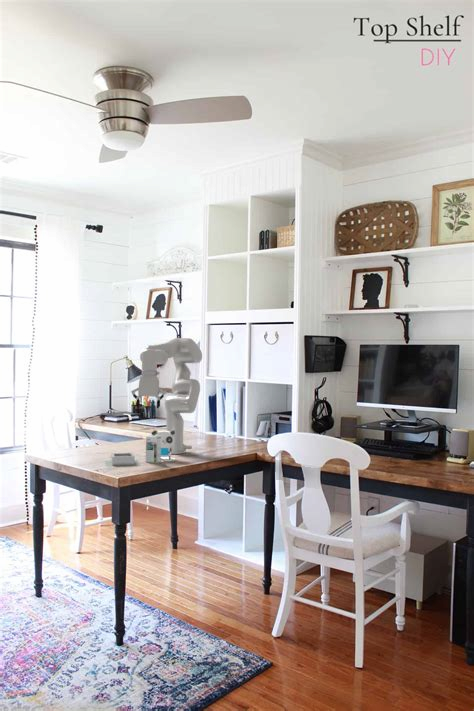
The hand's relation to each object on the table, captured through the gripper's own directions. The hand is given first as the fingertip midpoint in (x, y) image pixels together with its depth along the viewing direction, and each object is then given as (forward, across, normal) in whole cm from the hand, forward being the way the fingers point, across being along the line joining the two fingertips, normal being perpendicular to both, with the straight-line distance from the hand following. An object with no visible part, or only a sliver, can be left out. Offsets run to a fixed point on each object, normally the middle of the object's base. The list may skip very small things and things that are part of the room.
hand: (148, 407), depth 303 cm
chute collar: (+26, +10, +10) cm, 30 cm away
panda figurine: (+27, -7, -10) cm, 30 cm away
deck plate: (+28, +10, +10) cm, 31 cm away
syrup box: (+28, -4, +5) cm, 29 cm away
